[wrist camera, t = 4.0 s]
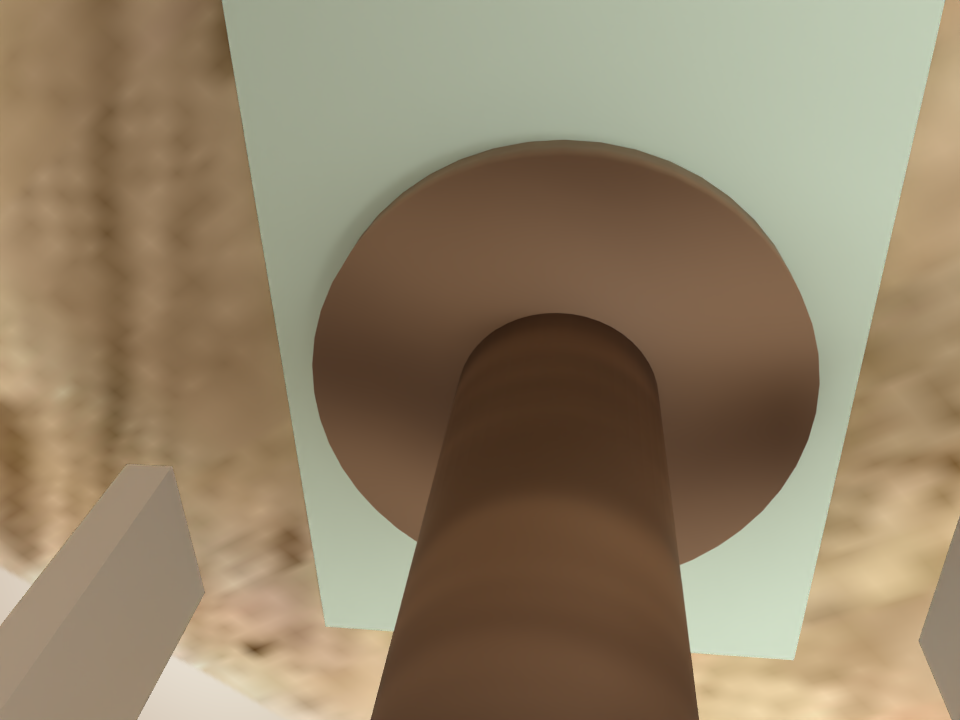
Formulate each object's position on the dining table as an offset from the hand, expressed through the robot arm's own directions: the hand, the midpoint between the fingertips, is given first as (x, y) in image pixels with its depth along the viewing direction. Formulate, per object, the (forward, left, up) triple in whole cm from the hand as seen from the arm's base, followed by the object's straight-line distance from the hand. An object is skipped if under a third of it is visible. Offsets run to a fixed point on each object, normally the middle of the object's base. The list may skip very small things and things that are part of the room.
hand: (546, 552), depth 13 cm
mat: (0, 0, -6) cm, 6 cm away
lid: (0, 0, -5) cm, 5 cm away
